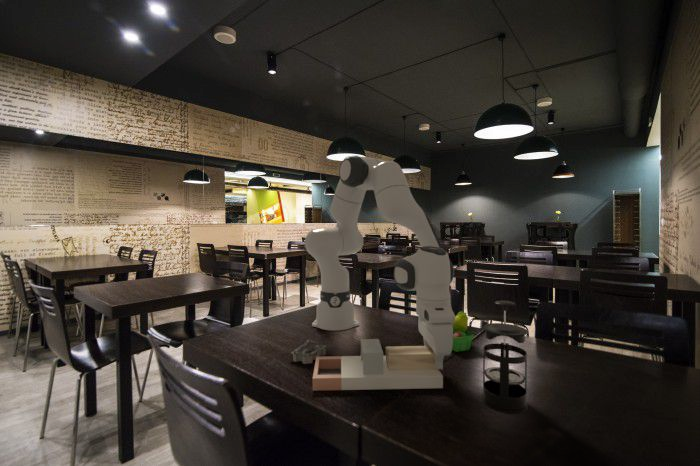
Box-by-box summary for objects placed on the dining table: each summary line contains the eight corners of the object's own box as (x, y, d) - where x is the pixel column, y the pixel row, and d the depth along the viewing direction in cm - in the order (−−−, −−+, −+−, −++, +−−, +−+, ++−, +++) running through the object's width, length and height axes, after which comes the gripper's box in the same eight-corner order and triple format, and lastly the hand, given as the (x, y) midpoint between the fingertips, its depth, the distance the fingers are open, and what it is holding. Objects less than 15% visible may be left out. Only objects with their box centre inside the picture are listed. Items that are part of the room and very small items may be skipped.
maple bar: (385, 361, 95) (385, 346, 95) (436, 360, 96) (436, 345, 96) (388, 370, 89) (388, 354, 89) (442, 369, 90) (443, 353, 90)
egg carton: (310, 350, 113) (310, 337, 113) (329, 354, 109) (329, 341, 109) (288, 360, 104) (288, 347, 104) (307, 366, 100) (307, 352, 100)
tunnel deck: (316, 367, 99) (316, 337, 98) (428, 365, 100) (428, 336, 99) (312, 390, 85) (312, 356, 84) (442, 388, 86) (442, 354, 85)
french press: (528, 419, 72) (529, 308, 71) (480, 409, 76) (480, 304, 75) (526, 394, 82) (526, 297, 82) (483, 386, 86) (484, 294, 86)
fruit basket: (434, 342, 119) (434, 309, 118) (455, 339, 122) (455, 307, 122) (455, 354, 108) (455, 318, 108) (478, 350, 111) (478, 315, 111)
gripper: (413, 299, 102) (413, 346, 103) (431, 318, 82) (431, 376, 82) (434, 299, 103) (434, 345, 103) (457, 318, 82) (457, 375, 83)
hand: (433, 359), depth 93 cm, fingers open, 8 cm apart
